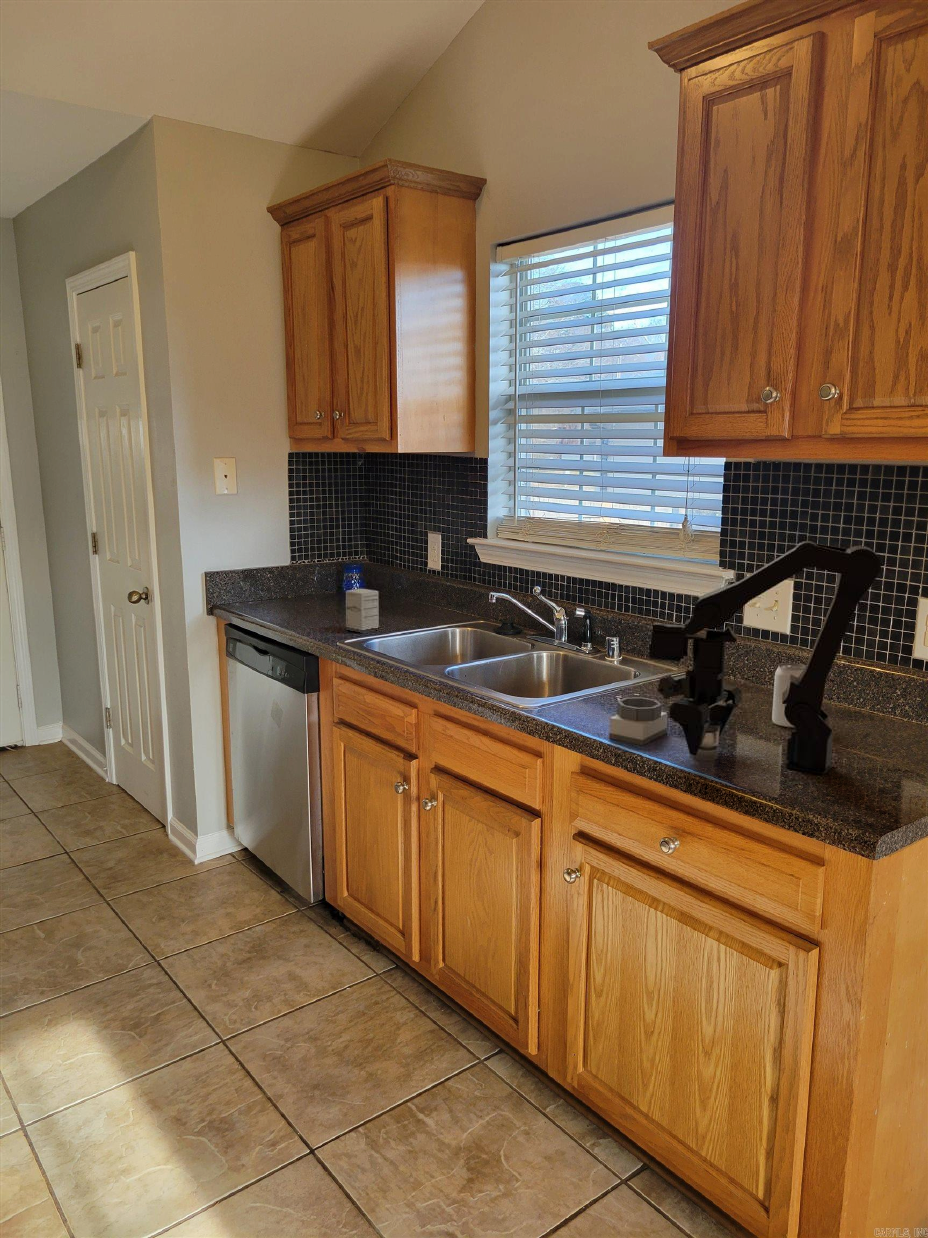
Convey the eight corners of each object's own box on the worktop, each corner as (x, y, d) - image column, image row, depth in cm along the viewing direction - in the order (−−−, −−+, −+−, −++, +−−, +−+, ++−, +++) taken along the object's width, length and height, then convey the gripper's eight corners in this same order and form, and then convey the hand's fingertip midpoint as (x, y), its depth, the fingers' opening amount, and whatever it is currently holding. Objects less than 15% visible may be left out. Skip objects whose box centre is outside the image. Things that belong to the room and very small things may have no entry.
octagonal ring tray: (668, 733, 178) (669, 700, 177) (643, 745, 171) (645, 712, 169) (632, 725, 183) (633, 694, 182) (607, 737, 175) (608, 704, 174)
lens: (722, 755, 165) (724, 723, 164) (711, 762, 161) (712, 730, 160) (696, 749, 169) (697, 718, 168) (683, 756, 165) (685, 724, 164)
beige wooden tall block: (345, 631, 279) (344, 590, 277) (363, 627, 285) (362, 587, 283) (361, 634, 275) (361, 593, 272) (379, 631, 280) (379, 590, 278)
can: (778, 717, 190) (782, 660, 187) (810, 723, 186) (814, 665, 183) (766, 724, 185) (770, 666, 183) (798, 730, 181) (803, 671, 178)
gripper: (688, 649, 174) (684, 728, 177) (642, 667, 160) (639, 752, 163) (745, 657, 167) (740, 739, 170) (702, 676, 153) (698, 765, 156)
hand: (703, 748), depth 165 cm, fingers open, 9 cm apart
